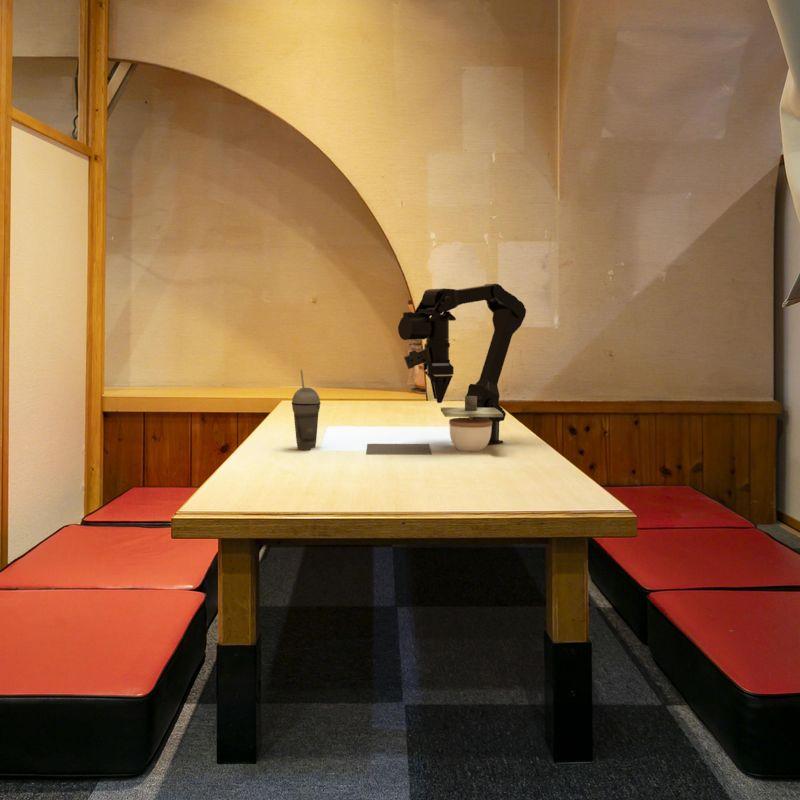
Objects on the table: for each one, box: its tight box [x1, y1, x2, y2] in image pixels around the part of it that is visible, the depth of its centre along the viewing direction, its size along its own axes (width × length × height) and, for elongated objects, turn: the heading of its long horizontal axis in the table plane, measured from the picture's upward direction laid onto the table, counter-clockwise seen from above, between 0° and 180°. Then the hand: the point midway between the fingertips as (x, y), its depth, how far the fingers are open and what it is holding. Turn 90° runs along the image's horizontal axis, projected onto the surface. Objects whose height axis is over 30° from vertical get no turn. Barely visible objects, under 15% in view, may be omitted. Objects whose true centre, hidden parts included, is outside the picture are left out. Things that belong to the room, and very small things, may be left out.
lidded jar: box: [448, 417, 492, 452], centre depth 191 cm, size 11×11×9 cm
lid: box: [440, 395, 503, 418], centre depth 191 cm, size 14×14×4 cm
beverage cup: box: [291, 369, 321, 451], centre depth 192 cm, size 7×7×20 cm
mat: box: [365, 443, 433, 456], centre depth 191 cm, size 16×16×1 cm
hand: (437, 400), depth 193 cm, fingers open, 9 cm apart
